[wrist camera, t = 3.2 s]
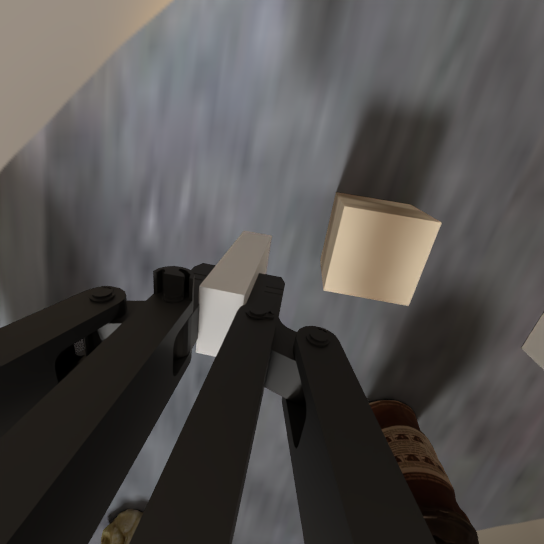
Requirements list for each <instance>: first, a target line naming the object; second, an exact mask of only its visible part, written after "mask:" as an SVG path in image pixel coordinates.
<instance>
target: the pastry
mask: <svg viewBox="0 0 544 544" xmlns="http://www.w3.org/2000/svg"><path fill="white" fill-rule="evenodd" d="M143 513H144V512H140V511H138V510H134V509H127V510H126V511H124V512H123V511H122V512H121V513H119V514H118V516H117V517H116V518H114V519H113V521H112V523H111V524H109V525H108V526H107V527H106V528H105V529H104V530H103V533H102V537H101V542H102V543H101V544H129V543H130V541H131V539H132V536H133V534H134V532H135V530H136V528H137V526H138V523H139V521H140V519H141V517H142V515H143Z"/></svg>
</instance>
